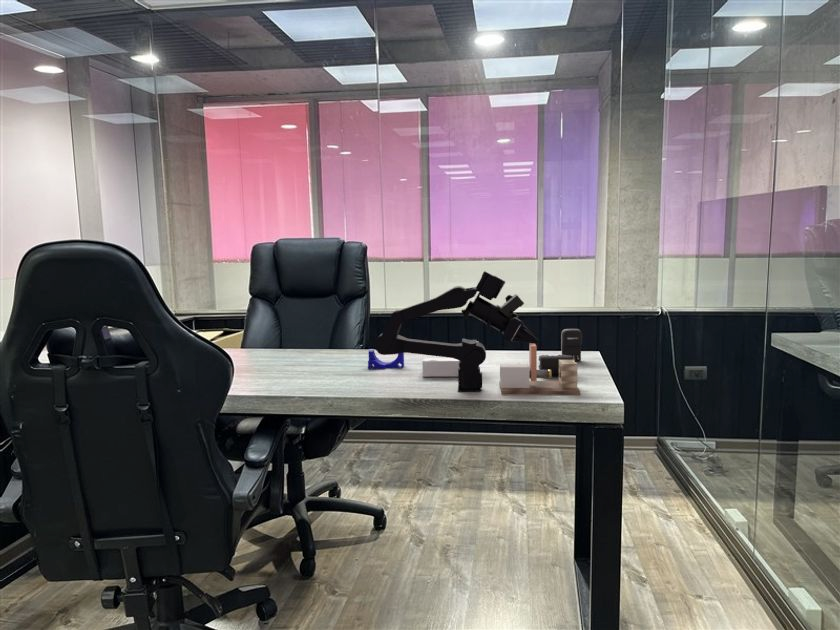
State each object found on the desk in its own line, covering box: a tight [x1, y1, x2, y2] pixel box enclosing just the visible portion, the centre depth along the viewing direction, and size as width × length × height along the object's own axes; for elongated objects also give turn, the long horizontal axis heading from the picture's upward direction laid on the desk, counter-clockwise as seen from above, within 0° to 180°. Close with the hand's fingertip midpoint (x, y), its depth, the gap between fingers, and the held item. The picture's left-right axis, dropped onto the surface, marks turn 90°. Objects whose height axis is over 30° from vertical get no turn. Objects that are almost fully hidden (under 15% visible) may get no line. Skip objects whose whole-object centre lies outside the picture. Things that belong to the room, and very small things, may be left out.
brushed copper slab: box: [528, 343, 553, 381], centre depth 162 cm, size 13×5×10 cm, turn 85°
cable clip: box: [367, 349, 405, 370], centre depth 197 cm, size 12×4×6 cm, turn 85°
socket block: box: [558, 360, 578, 388], centre depth 162 cm, size 4×6×7 cm
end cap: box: [537, 354, 573, 377], centre depth 179 cm, size 10×7×7 cm
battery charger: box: [560, 328, 583, 362], centre depth 200 cm, size 7×4×11 cm, turn 84°
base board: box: [499, 380, 581, 396], centre depth 163 cm, size 22×12×1 cm, turn 85°
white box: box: [421, 340, 479, 377], centre depth 185 cm, size 18×10×10 cm, turn 85°
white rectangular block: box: [499, 363, 530, 388], centre depth 163 cm, size 8×5×6 cm, turn 85°
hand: (536, 339), depth 161 cm, fingers open, 9 cm apart
